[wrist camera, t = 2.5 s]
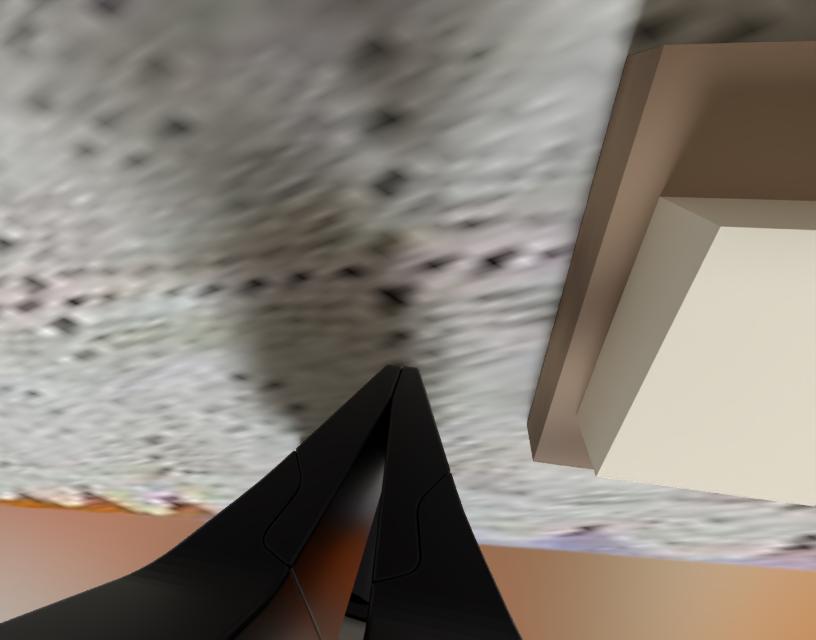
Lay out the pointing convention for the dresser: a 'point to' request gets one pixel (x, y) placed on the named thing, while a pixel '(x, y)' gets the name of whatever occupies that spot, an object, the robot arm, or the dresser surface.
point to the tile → (713, 354)
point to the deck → (671, 189)
